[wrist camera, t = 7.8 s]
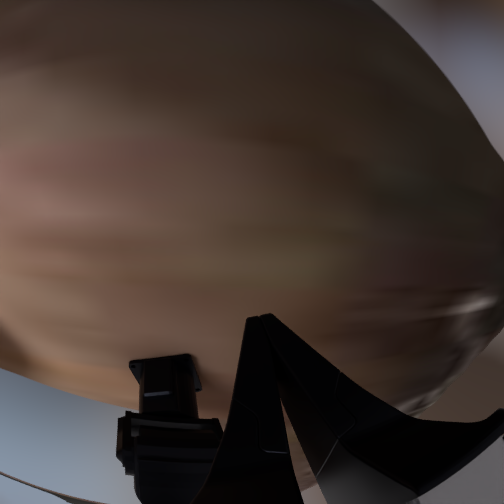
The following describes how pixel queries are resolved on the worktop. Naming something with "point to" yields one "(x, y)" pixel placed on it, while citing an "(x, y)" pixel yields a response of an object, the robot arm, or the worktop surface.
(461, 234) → the worktop surface
